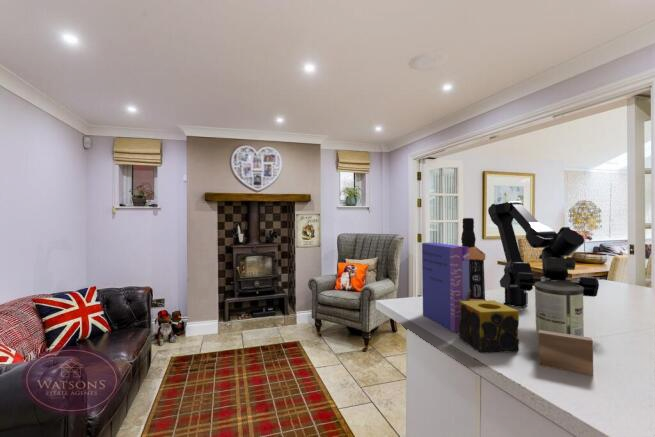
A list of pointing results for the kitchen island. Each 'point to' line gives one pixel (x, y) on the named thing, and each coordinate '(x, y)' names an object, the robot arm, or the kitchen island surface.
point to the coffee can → (559, 307)
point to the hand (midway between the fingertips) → (557, 309)
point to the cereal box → (445, 283)
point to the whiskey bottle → (474, 262)
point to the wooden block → (566, 352)
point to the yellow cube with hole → (489, 326)
